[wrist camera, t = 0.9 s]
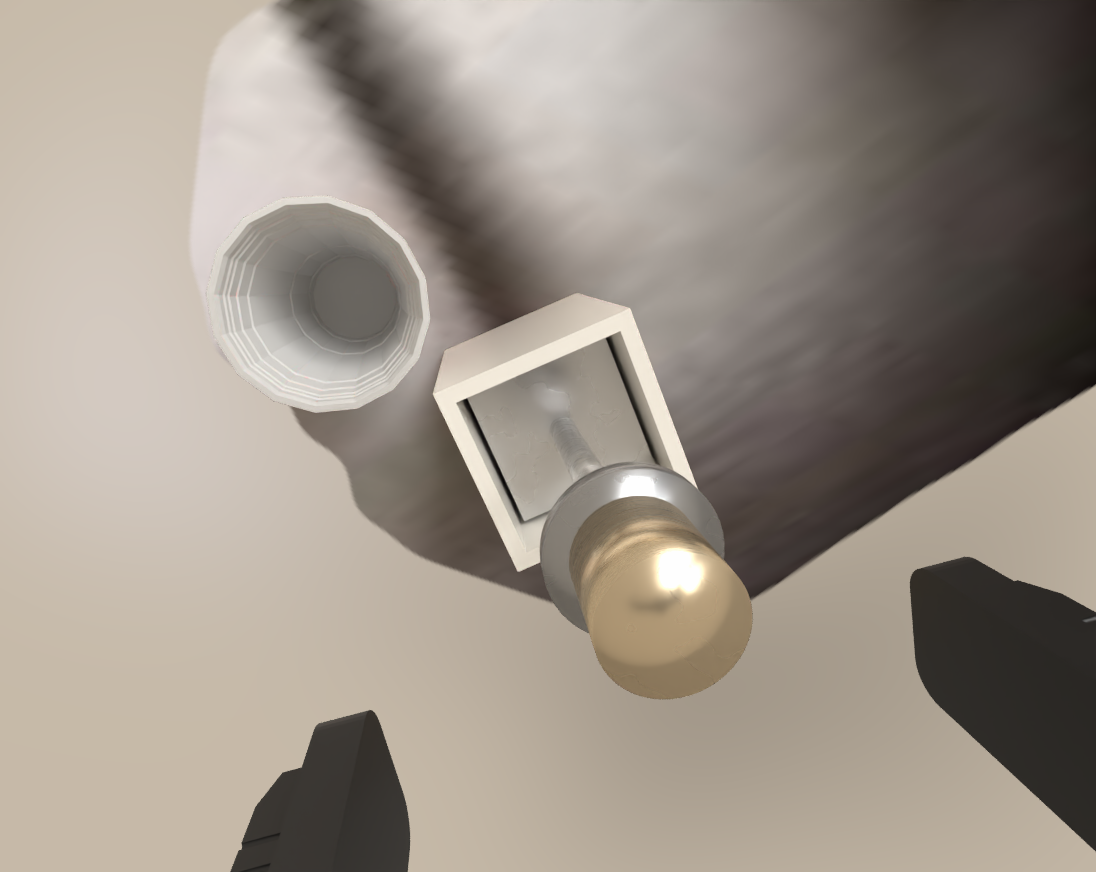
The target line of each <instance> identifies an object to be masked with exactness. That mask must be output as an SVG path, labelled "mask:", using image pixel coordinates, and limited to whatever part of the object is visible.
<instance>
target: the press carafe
mask: <svg viewBox="0 0 1096 872" xmlns="http://www.w3.org/2000/svg"><path fill="white" fill-rule="evenodd" d="M603 338H606V340H607V343H608V345H609V348H610V350H611V353H612V355H613V358H614V361H615V363H616V366H617V368H618V371H619V373H620V376H621V379H622V381H623V384H624V386H625V389H626V391H627V394H628V396H629V399H630V402H631V404H632V407H633V409H634V412H635V414H636V417H637V420H638V422H639V425H640V427H641V430H642V432H643V435H644V437H645V440H646V443H647V445H648V448H649V450H650V453H651V455H652V458H653V461H654V463H655V464H657V465H661V466H664V467H667V468H669V469H671V470H673V471H675V472H677V473H679V474H680V475H682V476H683V477H685V478H686V479H687V480H688V481H689V482H691V483H692V484H693V485H694V486H695V487H696V488H697V486H696V483H695V481H694V478H693V475H692V472H691V470H690V467H689V464H688V462H687V459H686V456H685V454H684V451H683V448H682V446H681V443H680V440H679V438H678V435H677V432H676V430H675V427H674V424H673V422H672V419H671V416H670V414H669V411H668V408H667V406H666V403H665V400H664V398H663V395H662V392H661V390H660V387H659V384H658V382H657V379H656V376H655V374H654V371H653V368H652V366H651V363H650V360H649V358H648V355H647V352H646V350H645V347H644V344H643V342H642V339H641V336H640V334H639V331H638V328H637V325H636V323H635V320H634V317H633V315H632V312H631V309H630V308H627V307H624V306H620V305H617V304H613V303H610V302H607V301H603V300H600V299H596V298H593V297H589V296H586V295H582V294H579V293H575V294H573V295H571V296H568V297H566V298H564V299H561V300H559V301H557V302H554V303H552V304H550V305H548V306H545V307H543V308H541V309H538V310H536V311H534V312H531V313H529V314H527V315H525V316H522V317H520V318H518V319H515V320H513V321H511V322H509V323H506V324H504V325H502V326H499V327H497V328H495V329H492V330H490V331H488V332H486V333H483V334H481V335H479V336H476V337H474V338H472V339H469V340H467V341H465V342H463V343H460V344H458V345H456V346H453V347H451V348H449V349H446V350H445V351H444V355H443V358H442V362H441V366H440V370H439V373H438V377H437V381H436V384H435V388H434V392H433V396H434V398H435V400H436V402H437V404H438V406H439V408H440V410H441V412H442V414H443V417H444V419H445V421H446V423H447V425H448V427H449V429H450V431H451V433H452V435H453V437H454V439H455V442H456V444H457V446H458V448H459V450H460V452H461V454H462V456H463V458H464V460H465V462H466V465H467V467H468V469H469V471H470V473H471V475H472V477H473V479H474V481H475V483H476V485H477V487H478V490H479V492H480V494H481V496H482V498H483V500H484V502H485V504H486V506H487V508H488V510H489V512H490V515H491V517H492V519H493V521H494V523H495V525H496V527H497V529H498V531H499V533H500V535H501V538H502V540H503V542H504V544H505V546H506V548H507V550H508V552H509V554H510V556H511V558H512V560H513V563H514V565H515V567H516V569H517V571H518V572H519V571H522V570H524V569H526V568H528V567H531V566H533V565H535V564H538V563H540V539H541V534H542V530H543V527H544V524H545V521H546V518H547V516H548V514H549V512H550V510H549V511H547V512H544V513H542V514H540V515H538V516H535V517H533V518H531V519H528V520H526V521H524V519H523V517H522V515H521V513H520V511H519V509H518V507H517V504H516V502H515V500H514V498H513V496H512V494H511V491H510V489H509V487H508V485H507V483H506V481H505V479H504V476H503V474H502V472H501V470H500V468H499V466H498V463H497V461H496V459H495V457H494V455H493V453H492V451H491V448H490V446H489V444H488V442H487V440H486V438H485V435H484V433H483V431H482V429H481V427H480V425H479V423H478V420H477V418H476V416H475V414H474V412H473V410H472V407H471V405H470V403H469V401H468V399H467V398H468V397H470V396H473V395H475V394H477V393H480V392H482V391H484V390H486V389H489V388H491V387H493V386H496V385H498V384H500V383H502V382H505V381H507V380H509V379H512V378H514V377H516V376H519V375H521V374H523V373H525V372H528V371H530V370H532V369H535V368H537V367H539V366H541V365H544V364H546V363H548V362H551V361H553V360H555V359H558V358H560V357H562V356H564V355H567V354H569V353H571V352H574V351H576V350H578V349H581V348H583V347H585V346H587V345H590V344H592V343H594V342H597V341H599V340H601V339H603Z"/></svg>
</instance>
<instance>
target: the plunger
mask: <svg viewBox="0 0 1096 872" xmlns="http://www.w3.org/2000/svg"><path fill="white" fill-rule="evenodd" d="M467 399H468V401H469V403H470V405H471V407H472V410H473V412H474V414H475V416H476V418H477V420H478V423H479V425H480V427H481V429H482V431H483V433H484V435H485V438H486V440H487V442H488V444H489V446H490V448H491V451H492V453H493V455H494V457H495V459H496V461H497V463H498V466H499V468H500V470H501V472H502V474H503V476H504V479H505V481H506V483H507V485H508V487H509V489H510V491H511V494H512V496H513V498H514V500H515V502H516V504H517V507H518V509H519V511H520V513H521V515H522V517H523V519H524V521H526V520H528V519H531V518H533V517H535V516H538V515H540V514H542V513H544V512H547V511H549V510H550V512H549V514H548V516H547V518H546V521H545V524H544V527H543V530H542V534H541V539H540V563H541V568H542V572H543V577H544V581H545V585H546V588H547V590H548V593H549V595H550V597H551V599H552V601H553V603H554V604H555V606H556V607H557V608H558V610H559V611H560V612H561V614H562V615H563V616H565V617H566V618H567V619H568V620H569V621H570V622H571V623H572V624H574V625H575V626H577V627H578V628H580V629H582V630H583V631H585V632H587V633H589V634H590V637H591V640H592V643H593V646H594V649H595V653H596V655H597V658H598V661H599V662H600V664H601V666H602V668H603V669H604V671H605V672H606V673H607V675H608V676H609V677H610V678H611V679H612V680H613V681H614V682H615V683H616V684H618V685H619V686H621V687H622V688H623V689H625V690H627V691H629V692H631V693H633V694H636V695H639V696H643V697H647V698H652V699H674V698H681V697H685V696H689V695H692V694H695V693H698V692H700V691H702V690H704V689H706V688H708V687H710V686H711V685H713V684H715V683H716V682H718V681H719V680H720V679H721V678H722V677H724V676H725V675H726V674H727V673H728V672H729V671H730V670H731V669H732V668H733V667H734V665H735V664H736V663H737V661H738V660H739V659H740V657H741V655H742V654H743V652H744V650H745V648H746V645H747V643H748V641H749V637H750V634H751V629H752V614H753V613H752V606H751V601H750V598H749V595H748V592H747V590H746V588H745V586H744V585H743V583H742V582H741V580H740V579H739V577H738V576H737V575H736V574H735V573H734V572H733V570H732V569H731V568H730V567H729V566H728V564H727V563H726V562H725V561H724V560H723V559H724V537H723V531H722V527H721V524H720V521H719V518H718V516H717V514H716V512H715V510H714V508H713V507H712V505H711V504H710V502H709V501H708V500H707V499H706V497H705V496H704V495H703V494H702V493H701V492H700V491H699V490H698V489H697V488H696V487H695V486H694V485H693V484H692V483H691V482H689V481H688V480H687V479H686V478H685V477H683V476H682V475H680V474H679V473H677V472H675V471H673V470H671V469H669V468H667V467H664V466H661V465H657V464H655V463H654V461H653V458H652V455H651V453H650V450H649V448H648V445H647V443H646V440H645V437H644V435H643V432H642V430H641V427H640V425H639V422H638V420H637V417H636V414H635V412H634V409H633V407H632V404H631V402H630V399H629V396H628V394H627V391H626V389H625V386H624V384H623V381H622V379H621V376H620V373H619V371H618V368H617V366H616V363H615V361H614V358H613V355H612V353H611V350H610V348H609V345H608V343H607V340H606V338H603V339H601V340H599V341H597V342H594V343H592V344H590V345H587V346H585V347H583V348H581V349H578V350H576V351H574V352H571V353H569V354H567V355H564V356H562V357H560V358H558V359H555V360H553V361H551V362H548V363H546V364H544V365H541V366H539V367H537V368H535V369H532V370H530V371H528V372H525V373H523V374H521V375H519V376H516V377H514V378H512V379H509V380H507V381H505V382H502V383H500V384H498V385H496V386H493V387H491V388H489V389H486V390H484V391H482V392H480V393H477V394H475V395H473V396H470V397H468V398H467Z"/></svg>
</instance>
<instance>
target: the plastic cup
mask: <svg viewBox="0 0 1096 872" xmlns="http://www.w3.org/2000/svg"><path fill="white" fill-rule="evenodd" d="M206 297H207V303H208V308H209V314H210V320H211V325H212V331H213V336H214V339H215V340H216V342H217V343H218V345H219V346H220V348H221V350H222V351H223V353H224V354H225V356H226V357H227V359H228V360H229V362H230V364H231V365H232V367H233V368H234V370H235V371H236V373H237V375H239V376H240V377H241V378H243V379H244V380H245V381H247V382H248V383H249V384H251V385H252V386H253V387H255V388H256V389H258V390H259V391H260V392H262V393H263V394H264V395H266V396H267V397H269V398H270V399H271V400H273V401H275V402H278V403H282V404H285V405H289V406H293V407H296V408H300V409H303V410H307V411H311V412H314V413H319V412H329V411H339V410H349V409H358V408H360V407H361V406H363V405H365V404H367V403H369V402H371V401H373V400H375V399H377V398H379V397H381V396H382V395H384V394H386V393H388V392H390V391H392V390H394V388H395V387H396V386H397V385H398V384H399V382H400V381H401V380H402V379H403V377H404V376H405V375H406V374H407V373H408V371H409V370H410V369H411V368H412V367H413V365H414V364H415V363H416V362H417V361H418V359H419V357H420V353H421V350H422V346H423V343H424V340H425V336H426V333H427V330H428V326H429V323H430V313H429V303H428V294H427V285H426V278H425V276H424V274H423V272H422V270H421V268H420V267H419V265H418V263H417V261H416V259H415V257H414V255H413V253H412V252H411V250H410V248H409V246H408V244H407V242H406V240H405V239H404V238H402V237H401V236H400V235H399V234H398V233H397V232H396V231H394V230H393V229H392V228H391V227H390V226H389V225H387V224H386V223H385V222H384V221H383V220H382V219H380V218H379V217H378V216H377V215H376V214H375V213H373V212H372V211H371V210H368V209H365V208H363V207H360V206H357V205H354V204H351V203H348V202H345V201H343V200H340V199H337V198H334V197H331V196H328V195H327V196H306V197H286V198H281V199H279V200H277V201H275V202H273V203H271V204H269V205H267V206H265V207H263V208H261V209H259V210H257V211H255V212H253V213H251V214H249V215H247V216H245V217H243V219H242V220H241V221H240V222H239V224H238V225H237V226H236V227H235V229H234V230H233V231H232V232H231V234H230V235H229V236H228V237H227V239H226V240H225V241H224V242H223V244H222V245H221V246H220V247H219V249H218V250H217V251H216V254H215V259H214V263H213V267H212V271H211V275H210V279H209V283H208V287H207V291H206Z"/></svg>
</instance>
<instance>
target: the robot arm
mask: <svg viewBox="0 0 1096 872" xmlns="http://www.w3.org/2000/svg"><path fill="white" fill-rule="evenodd" d="M910 593H911V607H912V620H913V633H914V646H915V647H914V648H915V659H916V665H917V669H918V672H919V675H920V678H921V680H922V682H923V684H924V686H925V688H926V689H927V691H928V693H929V694H930V696H931V697H932V698H933V699H934V701H935V702H936V703H937V704H938V705H939V706H940V707H941V708H942V709H943V710H944V711H945V712H946V713H947V714H948V715H949V716H950V717H952V718H953V719H954V720H955V721H956V722H957V723H958V724H959V725H960V726H962V728H964V729H965V730H966V731H967V732H968V733H969V734H970V735H971V736H972V737H973V738H974V739H975V740H976V741H977V742H979V743H980V744H981V745H982V746H983V747H984V748H985V749H986V750H987V751H988V752H989V753H990V754H991V755H992V756H994V757H995V758H996V759H997V760H998V761H999V762H1000V763H1001V764H1002V765H1003V766H1004V767H1005V768H1007V769H1008V770H1009V771H1010V772H1011V773H1012V774H1013V775H1014V776H1015V777H1016V778H1017V779H1018V780H1019V781H1020V782H1022V783H1023V784H1024V785H1025V786H1026V787H1027V788H1028V789H1029V790H1030V791H1031V792H1032V793H1033V794H1034V795H1036V796H1037V797H1038V798H1039V799H1040V800H1041V801H1042V802H1043V803H1044V804H1045V805H1046V806H1047V807H1049V808H1050V809H1051V810H1052V811H1053V812H1054V813H1055V814H1056V815H1057V816H1058V817H1059V818H1060V819H1061V820H1062V821H1064V822H1065V823H1066V824H1067V825H1068V826H1069V827H1070V828H1071V829H1072V830H1073V831H1074V832H1075V833H1076V834H1078V835H1079V836H1080V837H1081V838H1082V839H1083V840H1084V841H1085V842H1086V843H1087V844H1088V845H1089V846H1090V847H1092V848H1093V849H1094V850H1095V851H1096V612H1094V611H1092V610H1090V609H1089V608H1086V607H1085V606H1083V605H1081V604H1079V603H1077V602H1076V601H1074V600H1072V599H1070V598H1069V597H1067V596H1065V595H1063V594H1061V593H1058V592H1054V591H1051V590H1048V589H1044V588H1041V587H1038V586H1035V585H1031V584H1028V583H1025V582H1021V581H1018V580H1017V581H1013V580H1011V579H1009V578H1007V577H1006V576H1004V575H1002V574H1000V573H999V572H997V571H995V570H993V569H992V568H990V567H988V566H986V565H985V564H983V563H981V562H979V561H978V560H976V559H974V558H970V557H963V558H959V559H955V560H951V561H947V562H943V563H940V564H936V565H932V566H928V567H924V568H921V569H917V570H915V571H914V572H913V574H912V576H911V579H910ZM409 851H410V827H409V818H408V812H407V806H406V802H405V798H404V794H403V791H402V788H401V785H400V782H399V779H398V776H397V773H396V770H395V767H394V764H393V761H392V758H391V755H390V752H389V749H388V746H387V743H386V740H385V737H384V734H383V731H382V728H381V725H380V723H379V720H378V718H377V716H376V714H375V713H374V712H373V711H372V710H369V711H365V712H362V713H358V714H354V715H350V716H346V717H342V718H338V719H335V720H331V721H327V722H323V723H319V724H318V725H317V726H316V727H315V729H314V732H313V735H312V738H311V741H310V744H309V747H308V750H307V753H306V756H305V759H304V763H303V765H302V768H298V769H295V770H291V771H287V772H284V773H282V774H281V775H280V777H279V778H278V779H277V780H276V782H275V783H274V784H273V785H272V787H271V788H270V789H269V791H268V792H267V793H266V794H265V796H264V797H263V798H262V799H261V801H260V802H259V803H258V804H257V806H256V807H255V810H254V812H253V815H252V817H251V820H250V823H249V825H248V828H247V831H246V833H245V835H244V838H243V841H242V850H239V851H238V854H237V856H236V859H235V861H234V864H233V866H232V869H231V872H408V862H409Z"/></svg>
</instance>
